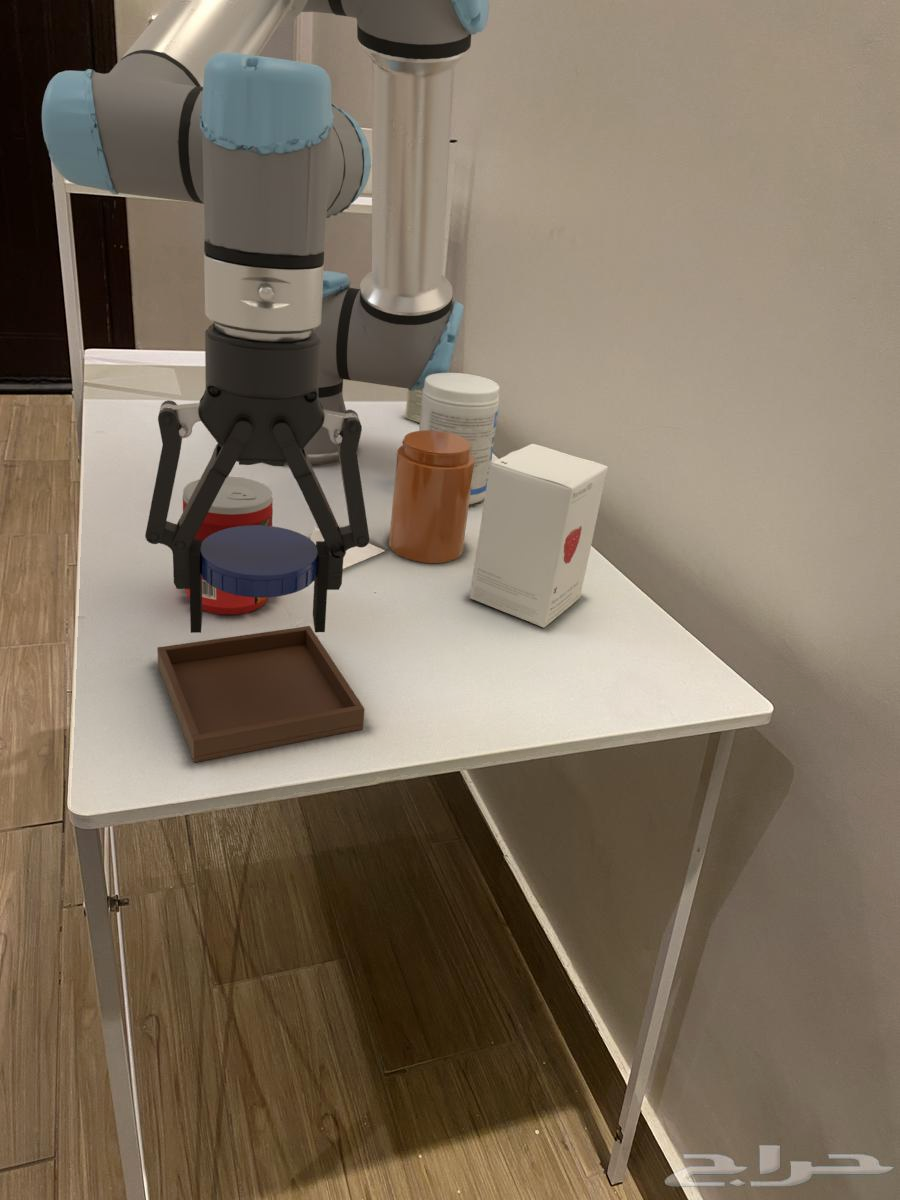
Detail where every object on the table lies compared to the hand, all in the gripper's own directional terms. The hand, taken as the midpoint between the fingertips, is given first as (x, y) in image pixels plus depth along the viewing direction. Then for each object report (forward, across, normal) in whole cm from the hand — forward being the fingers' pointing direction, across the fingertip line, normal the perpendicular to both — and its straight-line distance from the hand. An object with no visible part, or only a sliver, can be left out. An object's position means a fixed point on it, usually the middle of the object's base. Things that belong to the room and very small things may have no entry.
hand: (258, 623), depth 71 cm
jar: (+7, +19, +29) cm, 36 cm away
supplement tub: (+7, +25, +45) cm, 52 cm away
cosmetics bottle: (+7, +27, +76) cm, 81 cm away
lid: (-6, 0, 0) cm, 6 cm away
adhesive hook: (+7, +8, +27) cm, 29 cm away
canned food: (+7, -2, +17) cm, 19 cm away
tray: (+7, 0, 0) cm, 7 cm away
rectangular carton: (+7, +28, +17) cm, 33 cm away
